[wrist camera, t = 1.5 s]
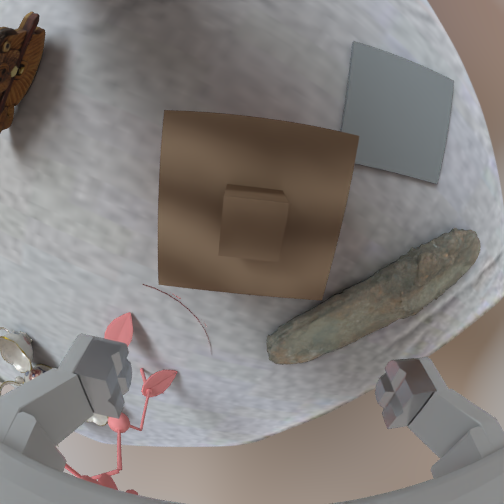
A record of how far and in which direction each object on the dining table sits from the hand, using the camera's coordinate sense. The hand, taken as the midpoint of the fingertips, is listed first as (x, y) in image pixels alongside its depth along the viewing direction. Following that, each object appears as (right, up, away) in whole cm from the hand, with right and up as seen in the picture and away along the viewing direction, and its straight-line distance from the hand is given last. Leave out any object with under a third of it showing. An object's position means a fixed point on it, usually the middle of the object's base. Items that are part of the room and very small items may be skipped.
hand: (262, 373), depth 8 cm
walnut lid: (0, +7, +15) cm, 16 cm away
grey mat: (+17, +19, +20) cm, 33 cm away
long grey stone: (+17, -2, +31) cm, 35 cm away
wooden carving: (-29, +26, +16) cm, 42 cm away
